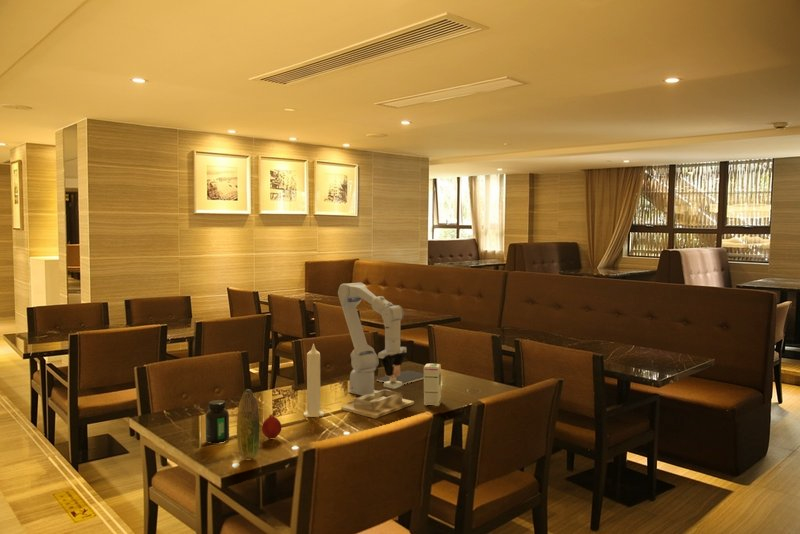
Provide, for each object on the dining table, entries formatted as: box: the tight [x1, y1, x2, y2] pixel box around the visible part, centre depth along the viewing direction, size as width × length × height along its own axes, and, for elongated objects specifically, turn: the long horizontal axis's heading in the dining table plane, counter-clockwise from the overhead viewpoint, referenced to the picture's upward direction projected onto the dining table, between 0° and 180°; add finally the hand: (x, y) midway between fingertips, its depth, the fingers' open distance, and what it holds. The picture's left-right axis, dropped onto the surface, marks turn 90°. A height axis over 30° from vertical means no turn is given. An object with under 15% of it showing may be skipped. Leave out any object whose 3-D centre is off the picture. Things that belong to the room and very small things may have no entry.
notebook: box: [375, 370, 424, 386], centre depth 258 cm, size 13×2×21 cm
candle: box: [303, 343, 325, 418], centre depth 207 cm, size 7×7×25 cm
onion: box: [261, 413, 282, 439], centre depth 183 cm, size 6×6×8 cm
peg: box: [382, 364, 403, 389], centre depth 223 cm, size 5×5×8 cm
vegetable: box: [236, 388, 261, 460], centre depth 167 cm, size 6×6×20 cm
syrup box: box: [423, 363, 442, 407], centre depth 221 cm, size 6×6×14 cm
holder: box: [340, 388, 415, 419], centre depth 217 cm, size 22×16×4 cm
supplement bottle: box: [204, 399, 230, 443], centre depth 182 cm, size 7×7×12 cm
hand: (392, 374), depth 223 cm, fingers closed on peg, 4 cm apart
